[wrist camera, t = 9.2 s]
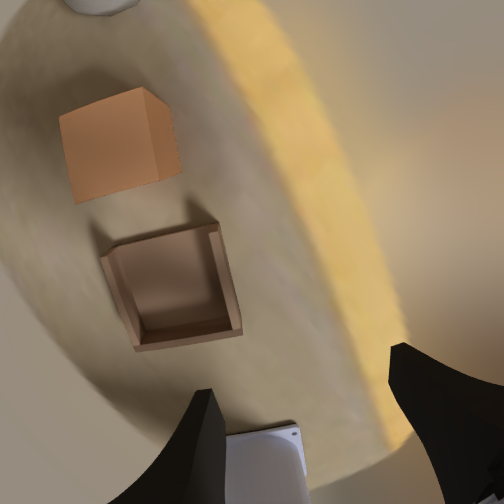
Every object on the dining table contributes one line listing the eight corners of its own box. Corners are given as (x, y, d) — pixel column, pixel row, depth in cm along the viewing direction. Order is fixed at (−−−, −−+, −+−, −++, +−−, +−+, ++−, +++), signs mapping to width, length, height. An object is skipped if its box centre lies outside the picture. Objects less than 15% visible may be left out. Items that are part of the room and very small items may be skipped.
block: (182, 171, 18) (160, 180, 12) (119, 187, 18) (75, 204, 12) (169, 106, 16) (142, 86, 11) (106, 124, 16) (58, 116, 11)
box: (241, 317, 21) (242, 335, 19) (143, 334, 21) (136, 352, 19) (219, 222, 19) (217, 231, 17) (112, 246, 19) (99, 257, 17)
